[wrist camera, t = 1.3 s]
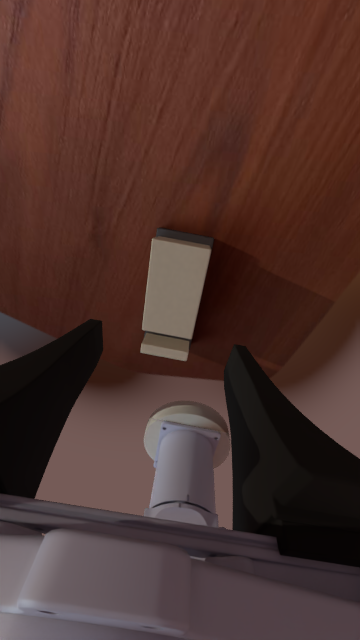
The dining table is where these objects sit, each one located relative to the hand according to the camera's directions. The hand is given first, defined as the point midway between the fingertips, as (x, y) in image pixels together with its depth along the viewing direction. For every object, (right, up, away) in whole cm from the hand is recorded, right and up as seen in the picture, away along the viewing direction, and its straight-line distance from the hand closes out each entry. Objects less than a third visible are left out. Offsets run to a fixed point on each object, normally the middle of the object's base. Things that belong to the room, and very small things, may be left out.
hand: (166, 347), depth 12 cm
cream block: (0, +4, +10) cm, 11 cm away
